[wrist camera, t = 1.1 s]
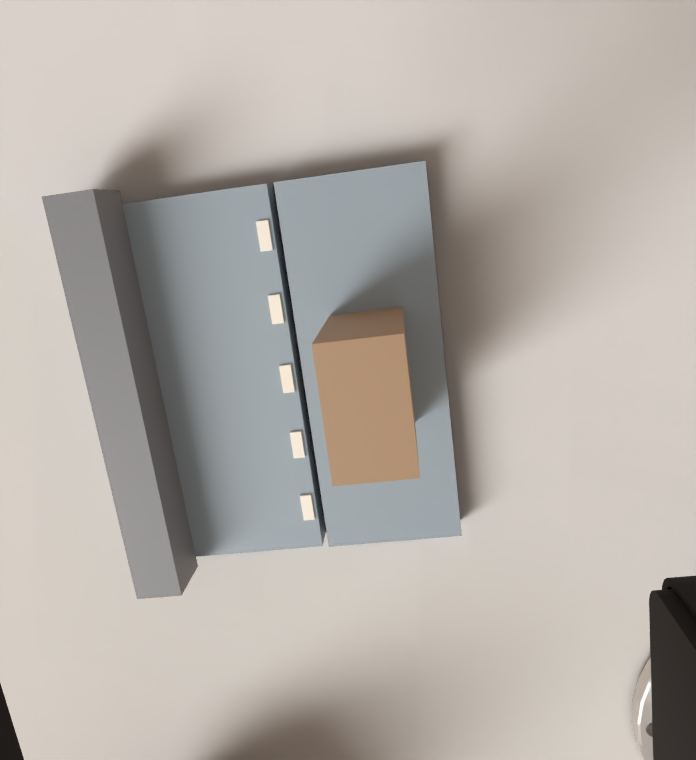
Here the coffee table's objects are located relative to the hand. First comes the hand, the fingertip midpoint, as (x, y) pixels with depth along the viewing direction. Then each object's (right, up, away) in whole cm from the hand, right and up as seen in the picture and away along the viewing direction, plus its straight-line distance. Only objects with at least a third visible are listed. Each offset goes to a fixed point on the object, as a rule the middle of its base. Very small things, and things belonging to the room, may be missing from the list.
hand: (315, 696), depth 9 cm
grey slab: (+2, +5, +20) cm, 20 cm away
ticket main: (-6, +4, +20) cm, 22 cm away
